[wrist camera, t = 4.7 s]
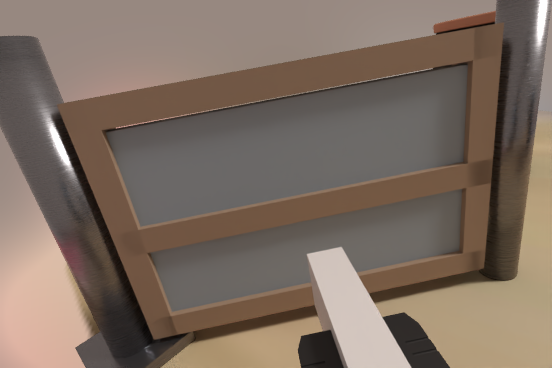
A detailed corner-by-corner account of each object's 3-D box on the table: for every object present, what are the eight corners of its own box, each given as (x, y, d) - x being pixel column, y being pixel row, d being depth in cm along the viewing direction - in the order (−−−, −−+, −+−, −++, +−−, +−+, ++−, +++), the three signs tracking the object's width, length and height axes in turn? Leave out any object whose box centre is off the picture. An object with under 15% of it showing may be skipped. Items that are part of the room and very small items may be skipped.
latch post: (482, 256, 25) (503, -19, 18) (519, 266, 23) (559, -34, 16) (473, 273, 23) (493, -21, 16) (513, 284, 22) (553, -38, 15)
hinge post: (157, 304, 26) (57, 47, 19) (195, 339, 22) (86, 25, 15) (79, 356, 22) (-82, 58, 15) (108, 409, 18) (-96, 33, 11)
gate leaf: (153, 339, 21) (56, 104, 15) (160, 319, 23) (74, 101, 17) (483, 268, 22) (504, 22, 16) (466, 254, 23) (479, 26, 18)
